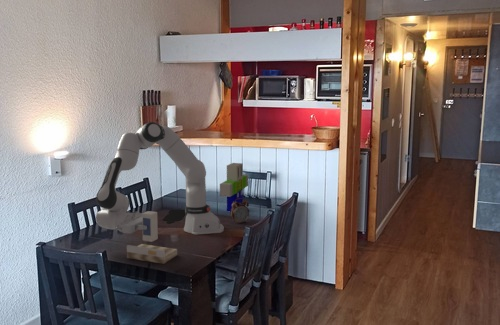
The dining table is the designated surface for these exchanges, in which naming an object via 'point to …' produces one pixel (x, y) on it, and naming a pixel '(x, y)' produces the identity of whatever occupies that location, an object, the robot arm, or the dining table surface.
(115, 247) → the dining table surface
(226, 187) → the toy
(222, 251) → the dining table surface
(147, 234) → the carton
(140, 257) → the beige flat block
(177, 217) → the toy
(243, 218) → the alarm clock
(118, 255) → the dining table surface
